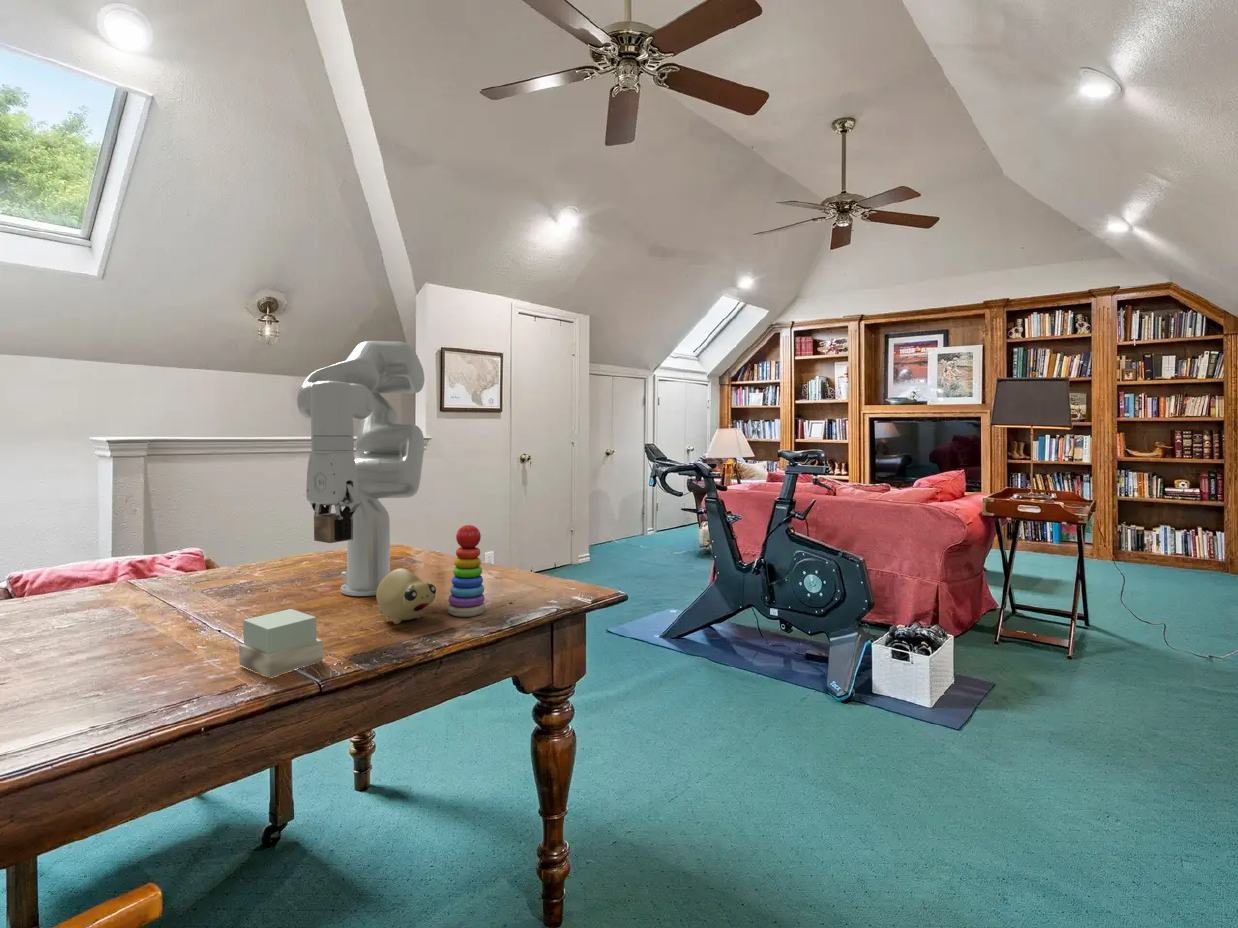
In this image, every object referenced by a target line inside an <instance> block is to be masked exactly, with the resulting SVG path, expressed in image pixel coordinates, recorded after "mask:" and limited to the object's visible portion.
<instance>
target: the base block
mask: <svg viewBox="0 0 1238 928" xmlns="http://www.w3.org/2000/svg"><path fill="white" fill-rule="evenodd" d="M238 653H239V654H238V655H239V660H238V661H239V666H240V665H242V666H244V667H246V668H248V669H251V670H253V671H255V672H258V673H260V674H263V675H265V676H267V677H270V678H271V677H274V676H277V675H280V674H282V673H285V672H288V671H290V670H294V669H297V668H301V667H303V666H307V665H310V666H312V665H311V664H313V663H316V664H318V663H317V662H319V663H321V662H320V661H322V662H323V640H322V639H320V638H317V640H316V641H313V642H309V643H306V644H302V645H299V646H295V647H292V648H288V649H285V650H281V651H278V652H274V653H271V654H267V653H265V652H263V651H260V650H258V649H255V648H253V647H251V646H248V645H246V644H244V643H242V644H239V645H238ZM313 665H314V664H313ZM307 667H308V666H307ZM301 669H302V668H301ZM267 677H266V678H267Z"/></svg>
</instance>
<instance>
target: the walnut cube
mask: <svg viewBox="0 0 1238 928" xmlns="http://www.w3.org/2000/svg"><path fill="white" fill-rule="evenodd" d="M335 520H338V519H337V516H336V512H331V513H328V514H319V515H314V514H313V541H314V542H321V543H326V544H333V543H340V542H347V540H353V518H352V519H351V539H347V540H341V541H336V540H335Z"/></svg>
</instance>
